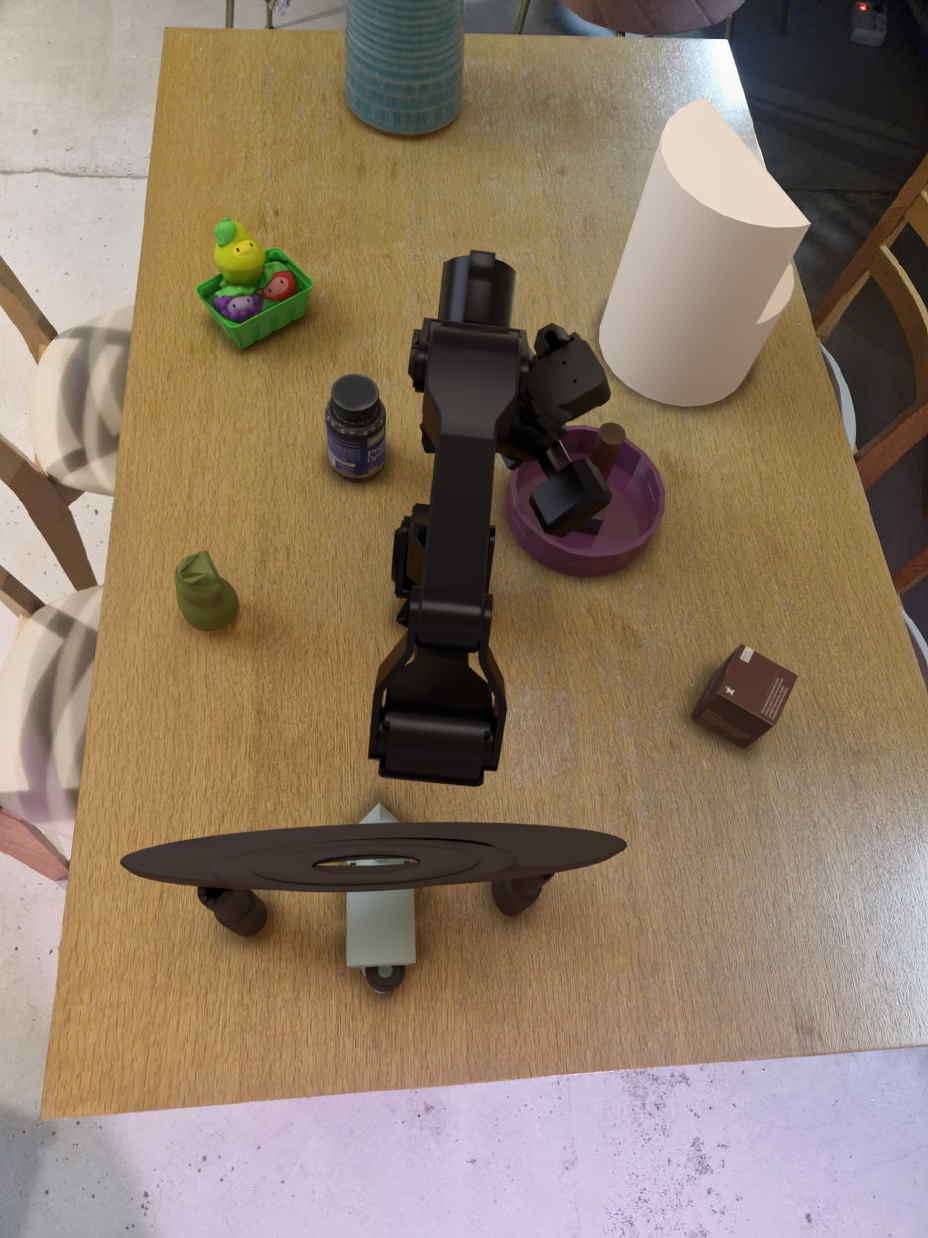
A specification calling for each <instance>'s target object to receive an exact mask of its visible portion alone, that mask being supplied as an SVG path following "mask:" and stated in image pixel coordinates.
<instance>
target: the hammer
mask: <svg viewBox="0 0 928 1238" xmlns="http://www.w3.org/2000/svg"><path fill="white" fill-rule="evenodd" d="M598 428H599V431H598V434H597V436H596V439H595V442H594V444H593V447H592V450H591V452H590V455H589V458H588V460H590V461H591V462H592V463H593V462H595V463H596V465H597V467H598V468H599V470H600V472H601V474H602V475H603V477H604V479H605V481H606V483H607V485H608V487H609V480H610V473H611V471H612V468H613V466H614V464H615V461H616V459H617V457H618V454H619V452H620V450H621V447H622V445H623V443H624V440H625V438H627V433H626V431H625V429H624V427H622V426H621V425H620V424H618V423H616V422H609V421H608V422H605V423H603V424H602V425H600V427H598ZM605 509H606V507H605V508H603V509H602V510H601V511H599V512H598V513H597V514H595V515H594V516H593V517H591V518H590V519H589V520H587V521H586V522H584V523H583V524H582V525H580V526H579V527H578V528H576V529H575V530H574V531H579V532H584V533H588V534H593V535H597V534H598V532H599V530H600V528H601V526H602V523H603V521H604V516H605Z"/></svg>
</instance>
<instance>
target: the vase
mask: <svg viewBox="0 0 928 1238" xmlns="http://www.w3.org/2000/svg"><path fill="white" fill-rule="evenodd" d="M465 20H466V0H346V19H345V21H346V23H345V30H344V31H345V37H344V47H345V48H344V83H343V84H344V85H343V89H344V90H343V91H344V92H343V93H344V98H345V101H346V104H347V106H348V107H349V109H350V110H351V112H352V114H354V115H355V116H356V117H357V119H359V120H361V122H363V123H365V124H366V125H368V126H370V127H371V128H374V129H376V130H379V131H381V132H383V133H387V134H390V135H395V136H404V137H411V136H412V137H414V136H421V135H426V134H430V133H434V132H436V131H439V130H441V129H442V128H444V127H447V126H448V125H449V124H450V123H452V122H453V121H454V120H455V119H456V117H457V116H458V115H459V113H460V111H461V109H462V106H463V99H464V98H463V97H464V88H463V86H464V70H465V51H466V50H465V42H466V41H465V40H466V39H465V38H466V37H465V22H466V21H465Z"/></svg>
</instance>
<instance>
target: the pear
mask: <svg viewBox="0 0 928 1238" xmlns="http://www.w3.org/2000/svg"><path fill="white" fill-rule="evenodd" d="M174 572H175V573H174V579H173V580H174V586H175V597H176V601H177V604H178V607H179V610H180V613H181V615H182V617H183V618H184V620H185V621H186V623H187V624H189V625H190V626H191V627H192V628H193V629H195V630H197V631H200V632H205V633H212V632H217V631H221V630H222V629H225V628H227V627H228V626H229V625H230V624H231V623H232V622H233V621H234V620H235V618H236V617H237V616H238V612H239V606H240V604H239V603H240V602H239V598H238V594H237V591H236V590H235V588H234V587H233V586H232V584H231V583H229V581H228V580H227V579H225V578H223V577H222V576H220V574H219V571H218V570H217V567H216V566H215V563H214V562H213V560H212V558H211V556H210V554H209V552H208V550H206V549H205V550H199V551H197V552H195V553H193V554H191V555H187V556H185V557H183V558H182V559H180V561H179V563H178V565H177V566H176V568H175V571H174Z"/></svg>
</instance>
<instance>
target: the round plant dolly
mask: <svg viewBox="0 0 928 1238" xmlns="http://www.w3.org/2000/svg"><path fill="white" fill-rule="evenodd" d="M627 847H628V843H627V841H626V840H625V839H624V838H621V837H619V836H617V835H614V834H610V833H606V832H602V831H596V830H592V829H591V830H590V829H585V828H577V827H570V826H569V827H568V826H560V825H546V824H531V823H529V824H528V823H517V822H516V823H515V822H514V823H513V822H489V821H488V822H486V821H485V822H484V821H480V822H479V821H474V822H473V821H408V822H406V821H405V822H401V821H400V820H399V819H398V818H397V817H396V816H395V815H394V814H392V813H391V811H389V810H388V809H387V807H385V806H384V805H383V804H382V803H381V802H378V803H377V804H376V805H375V807H373V808H372V809H371V811H370V812H368V814H367V815H366V816H365V817H364V818H363V819H361V821H360V822H358V823H347V824H328V825H327V824H326V825H313V826H312V825H309V826H298V827H297V826H296V827H282V828H272V829H261V830H250V831H241V832H232V833H223V834H216V835H209V836H201V837H195V838H187V839H182V840H177V841H172V842H166V843H161V844H158V845H157V844H156V845H153V846H149V847H146V848H142V849H138V850H136V851H132V852H130V853H128V854H126V855H124V856H123V857H122V858H121V859H119V864H120V866H121V867H122V868H124V870H126V871H128V872H129V873H130V874H132V875H134V876H137V877H139V878H143V879H146V880H149V881H155V882H160V883H165V884H171V885H172V884H173V885H179V886H188V887H197V890H196V892H197V893H196V894H197V899H198V900H199V902H200V903H201V904H202V905H203V906H204V907H205V908H206V909H208V910H209V911H211V912H212V913H213V915H214V917H215V919H216V921H217V922H218V923H219V924H220V925H221V926H223V927H224V928H226V929H227V930H229V931H231V932H232V933H234V934H236V935H237V936H240V937H244V938H249V937H254V936H256V935H258V934H259V933H260V932H261V931H262V930H263V929H264V928H265V926H266V924H267V922H268V917H269V913H268V909H267V907H266V905H265V903H264V902H263V900H262V899H261V898H260V897H259V896H258V895H257V894H256V893H255V892H254V890H256V891H280V892H281V891H282V892H294V893H295V892H296V893H297V892H298V893H346V894H347V895H346V896H345V901H346V904H345V909H346V942H345V948H346V950H345V957H346V967H350V968H352V969H353V968H354V969H360V971H361V972H362V974H363V975H364V977H365V979H366V981H367V984H368V985H369V986H370V987H371V988H372V989H373V991H374V992H375V993H377V994H381V995H383V994H385V993H390V992H393V991H395V990H396V989H398V988H399V987H400V986H401V984H402V983H403V982H404V979H405V976H406V966H411V964H416V962H417V961H416V959H417V957H416V952H417V948H416V943H417V942H416V923H415V922H416V919H415V918H416V917H415V905H416V904H415V903H416V902H415V889H422V888H431V887H441V886H454V885H456V886H457V885H466V884H478V883H488V882H489V883H491V884H490V885H491V886H490V887H491V893H492V898H493V900H494V903H495V906H496V908H497V909H498V911H500V913H501V914H503V916H506V917H508V918H514V917H517V916H520V915H521V914H522V913H524V912H525V911H526V910H528V909H529V908H530V907H532V906H533V905H534V904H535V903H536V901H538V899H539V897H540V896H541V893H542V890H543V886H545V885H546V884H547V883H549V882H550V881H551V880H552V878H553V877H554V876H555V874H557V873H563V872H568V871H574V870H578V869H583V868H587V867H591V866H594V865H598V864H601V863H604V862H606V861H609V860H610V859H612V858H614V857H616V856H617V855H619V854H620V853H622V852H624V851H625V850H626V849H627ZM414 861H416V862H414ZM341 862H342V863H343V862H345V863H346V865H329V864H332V863H341ZM406 862H409V863H406ZM325 864H328V865H325ZM351 864H355V865H351Z"/></svg>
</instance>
